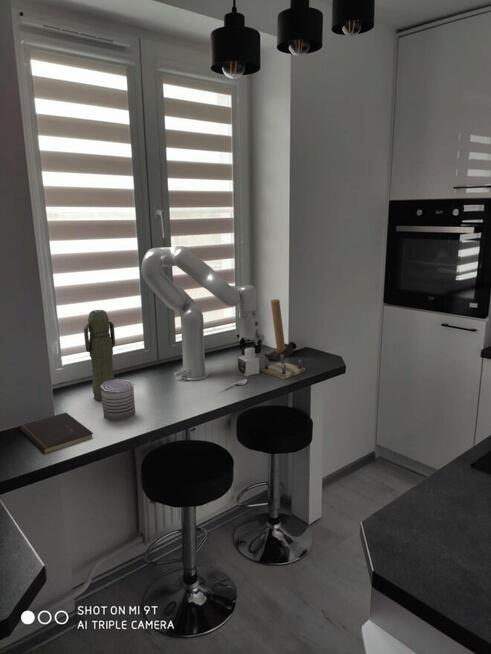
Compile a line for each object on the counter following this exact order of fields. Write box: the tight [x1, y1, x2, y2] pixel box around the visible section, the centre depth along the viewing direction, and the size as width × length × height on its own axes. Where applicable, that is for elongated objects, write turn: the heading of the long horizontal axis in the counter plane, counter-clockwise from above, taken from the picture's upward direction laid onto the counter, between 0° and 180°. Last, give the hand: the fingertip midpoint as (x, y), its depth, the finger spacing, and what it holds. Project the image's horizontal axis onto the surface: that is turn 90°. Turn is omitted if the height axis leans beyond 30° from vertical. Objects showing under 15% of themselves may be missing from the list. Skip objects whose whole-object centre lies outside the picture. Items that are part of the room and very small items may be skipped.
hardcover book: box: [19, 412, 94, 455], centre depth 164 cm, size 16×23×2 cm
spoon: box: [214, 378, 248, 394], centre depth 203 cm, size 4×21×2 cm, turn 136°
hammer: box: [263, 298, 297, 362], centre depth 239 cm, size 20×5×30 cm, turn 139°
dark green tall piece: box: [83, 309, 116, 402], centre depth 191 cm, size 9×12×35 cm
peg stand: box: [260, 355, 306, 380], centre depth 221 cm, size 14×14×6 cm
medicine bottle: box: [237, 345, 260, 377], centre depth 220 cm, size 7×7×12 cm
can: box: [100, 378, 136, 423], centre depth 176 cm, size 11×11×12 cm
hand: (250, 351), depth 219 cm, fingers open, 9 cm apart
